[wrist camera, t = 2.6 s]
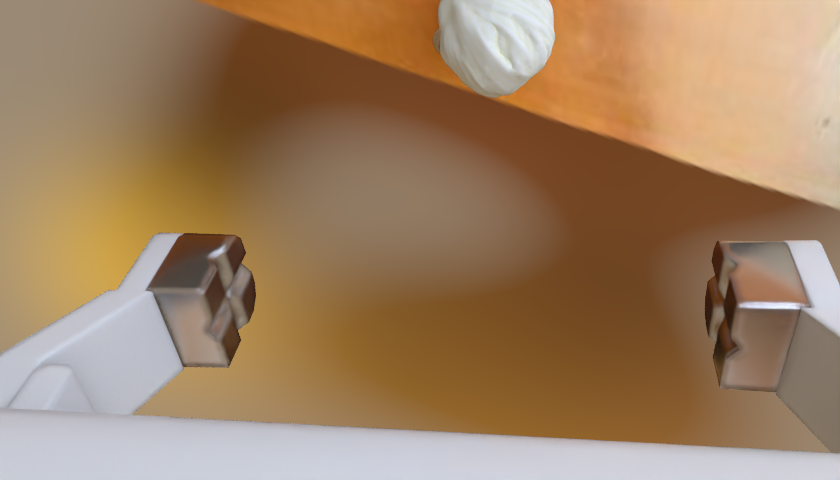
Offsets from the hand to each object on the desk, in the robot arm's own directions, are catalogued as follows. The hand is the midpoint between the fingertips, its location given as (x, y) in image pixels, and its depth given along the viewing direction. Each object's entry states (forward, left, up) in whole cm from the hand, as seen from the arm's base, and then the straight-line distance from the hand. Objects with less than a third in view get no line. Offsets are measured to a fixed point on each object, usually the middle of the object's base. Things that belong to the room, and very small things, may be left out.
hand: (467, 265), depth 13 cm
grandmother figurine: (0, 0, -22) cm, 22 cm away
